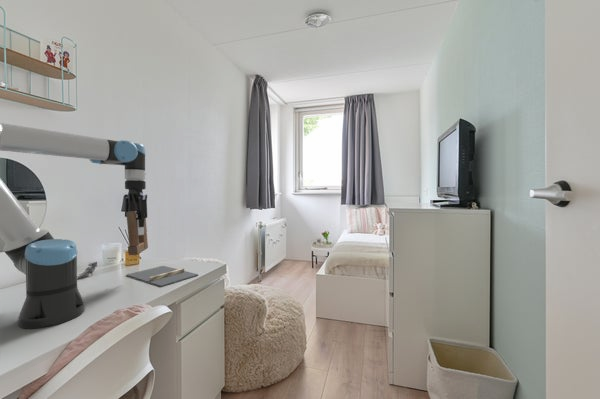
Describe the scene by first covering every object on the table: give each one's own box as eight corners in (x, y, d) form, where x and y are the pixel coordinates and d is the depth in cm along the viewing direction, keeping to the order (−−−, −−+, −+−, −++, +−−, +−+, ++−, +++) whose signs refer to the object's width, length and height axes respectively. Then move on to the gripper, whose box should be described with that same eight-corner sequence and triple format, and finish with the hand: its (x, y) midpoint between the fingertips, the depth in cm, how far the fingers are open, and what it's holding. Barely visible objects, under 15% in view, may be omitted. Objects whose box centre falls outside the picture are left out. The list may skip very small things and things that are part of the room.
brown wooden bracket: (148, 247, 122) (145, 208, 120) (137, 255, 111) (134, 212, 109) (139, 248, 121) (136, 208, 119) (128, 255, 110) (124, 212, 109)
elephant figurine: (70, 278, 122) (87, 266, 130) (81, 286, 123) (98, 274, 131) (78, 266, 118) (96, 255, 126) (89, 275, 119) (106, 263, 127)
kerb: (151, 281, 116) (151, 277, 116) (149, 280, 116) (149, 277, 116) (184, 271, 129) (184, 268, 129) (182, 271, 130) (182, 268, 130)
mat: (161, 287, 110) (161, 285, 110) (126, 275, 125) (126, 274, 125) (198, 275, 126) (198, 274, 125) (163, 266, 140) (163, 265, 140)
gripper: (156, 180, 113) (157, 234, 114) (132, 180, 123) (133, 231, 123) (138, 179, 107) (139, 237, 107) (114, 180, 116) (115, 233, 117)
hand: (136, 234), depth 115 cm, fingers closed on brown wooden bracket, 6 cm apart
